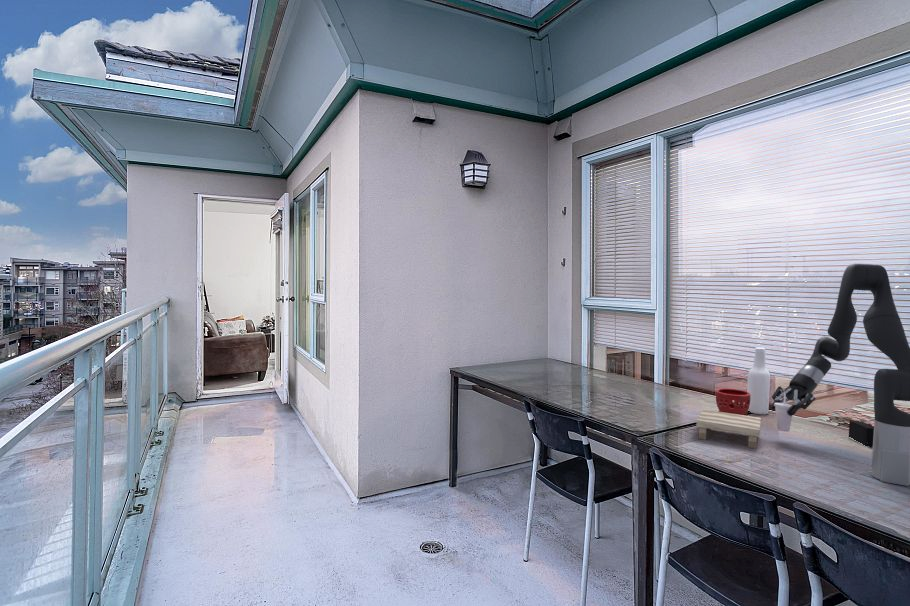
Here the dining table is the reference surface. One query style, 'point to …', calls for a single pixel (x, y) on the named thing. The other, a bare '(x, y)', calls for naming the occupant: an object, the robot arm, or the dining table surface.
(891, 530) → the dining table surface
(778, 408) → the smoothie
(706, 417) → the low wooden platform
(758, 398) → the alcohol
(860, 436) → the digital camera
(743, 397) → the plant pot
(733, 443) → the dining table surface
